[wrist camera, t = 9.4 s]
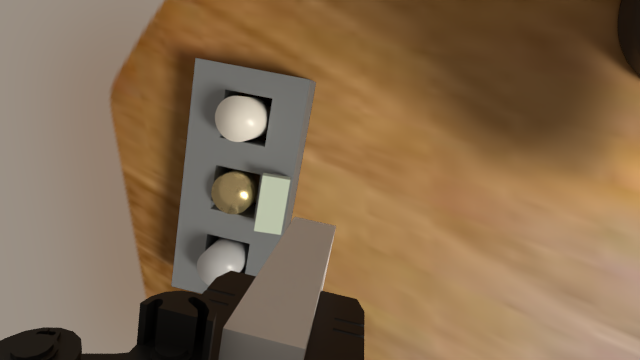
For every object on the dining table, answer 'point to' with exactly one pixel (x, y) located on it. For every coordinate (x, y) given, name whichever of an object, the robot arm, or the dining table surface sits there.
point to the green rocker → (272, 203)
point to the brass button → (235, 191)
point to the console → (236, 163)
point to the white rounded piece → (242, 118)
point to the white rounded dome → (222, 259)
